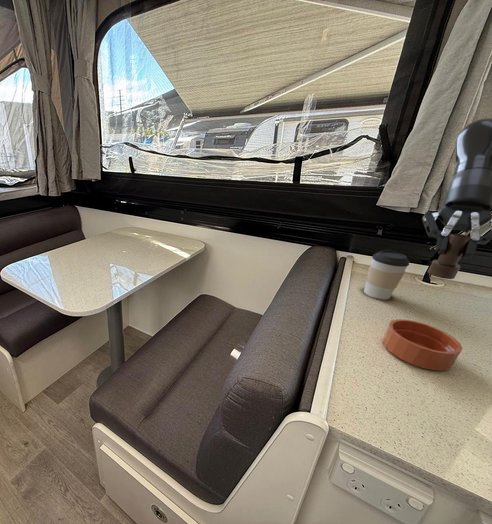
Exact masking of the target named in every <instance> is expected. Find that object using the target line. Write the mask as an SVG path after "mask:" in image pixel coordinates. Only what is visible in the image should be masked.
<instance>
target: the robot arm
mask: <svg viewBox="0 0 492 524" xmlns="http://www.w3.org/2000/svg"><path fill="white" fill-rule="evenodd" d="M454 155H455V156H454V157H455V166H454V169H453V172H452V176H451V179H450V181H449V183H448V185H447V189H446V190H445V196H444V198H443V199H444V200H443V203H442V207H441V209H439V211H437V212H432V211H425V212H424V214H423V216H422V217H421V221H422V224H423V226H424V229H425V232H426V235H427V237H429V238H434V239H436V243H435V248H434V250H435V251H434V252H437V255H440V254H443V253H444V252H445V250H446V247H447V243H448V239H449V235H450V234H451V232H452V231H461V232H463V233H464V235H467V236H470V237H471V238H470V240H469V242H468V244H467V246H466V248H465V249H464V251H463V253H462V255H461V259H468V258H471V257H472V256H473V255H474V254H475V253H476V251H477V247H478V245H481V246H485V245H487V244H488V243H489V242H490V241H491V240H492V213H491V210H492V117H483V118H479V119H476V120H474V121H472V122H470V123H468V124H467V125H465V126H464V127H463V128H462V129H461V131H460V132H459V133H458V134H457V136H456V139H455V145H454ZM437 219H438V220H439V221H440V222H441V224H443V226H444V227H443V228H442V230H440V229H439V227H438V225H437V223H436V220H437ZM486 224H488V229H489V231H488V232H487V233H486V234H485V235H480V231H481V227H482V226H484V225H486Z"/></svg>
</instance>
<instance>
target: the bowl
mask: <svg viewBox="0 0 492 524" xmlns="http://www.w3.org/2000/svg"><path fill="white" fill-rule="evenodd" d="M382 344H383V345H384V347H385V349H387V350H388V351H389V352H391V354H393V355H394V356H395V357H397V358H399V359H400V360H402V361H403V362H406V363H408V364H411V365H413V366H416V367H419V368H422V369H427V370H431V371H447V370H451V369H452V368H453V365H454V364H455V362H456V360H457V359H458V357H459V356H460V354H461V352H462V350H463V346H462V343H460V341H459V340H457V339H456V338H455V336H453V335H451V334H450V333H448V332H445V331H444V330H442V329H440V328H438V327H436V326H432V325H430V324H427V323H424V322H421V321H417V320H410V319H394V320H391V321H390V322H389V323H388V325H387V327H386V330H385V332H384V334H383V336H382Z"/></svg>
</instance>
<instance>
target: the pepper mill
mask: <svg viewBox="0 0 492 524" xmlns="http://www.w3.org/2000/svg"><path fill="white" fill-rule="evenodd" d="M448 237H449V239H448V243H447V247H446V250H445V252H444V253H443V254H439V256H438V258H437V259H433V260H432V262H431V263H430V265H429V267H428V270H427V274H429V275H430V276H433V277H436V278H438V279H439V278H440V279H445V280H454V279H455V278H456V276H457V274H458V273H459V271H460V269H461V265H460V264H458V263H459V261H460V259H461V258H462V254H463V251H464V249H465V248H466V246H467V244H468V242H469V240H470V238H471V237H470V236H467V235H465V234H462V233H449V235H448Z"/></svg>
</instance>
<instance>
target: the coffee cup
mask: <svg viewBox="0 0 492 524" xmlns="http://www.w3.org/2000/svg"><path fill="white" fill-rule="evenodd" d="M371 258H372V260H371V262H370V265H369V269H368V273H367V276H366V283H365V286H364V290H363V293H364V294H365V295H367V296H369V297H371V298H374V299H378V300H389V299H390V298H391V297H392V295H393V293H394V292H395V289H397V287H398V285H399V283H400V282H401V280H402V278H403V276H404V274H405V273H406V269H407V268H408V266H410V262H411V260H409V259H408V257H407V256H406V255H405V254H403V253H400V252H397V251H394V250H392V249H383V250H379V252H375V253H374V254H373V255H372V257H371Z"/></svg>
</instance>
